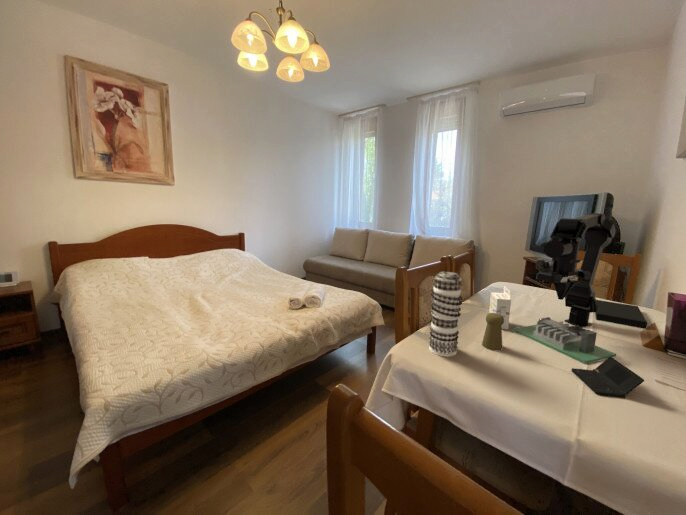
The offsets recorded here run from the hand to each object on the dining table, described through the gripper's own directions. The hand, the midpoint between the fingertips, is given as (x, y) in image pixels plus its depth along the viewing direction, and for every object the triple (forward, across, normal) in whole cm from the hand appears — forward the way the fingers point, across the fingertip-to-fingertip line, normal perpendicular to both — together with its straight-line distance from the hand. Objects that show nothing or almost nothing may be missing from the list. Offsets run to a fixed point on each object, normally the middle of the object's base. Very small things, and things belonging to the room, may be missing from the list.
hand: (560, 299), depth 101 cm
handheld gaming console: (+14, +18, +25) cm, 34 cm away
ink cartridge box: (+13, +13, -13) cm, 23 cm away
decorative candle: (+13, +46, -3) cm, 48 cm away
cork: (+13, +29, 0) cm, 32 cm away
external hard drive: (+14, -43, -5) cm, 45 cm away
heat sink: (+12, +5, +6) cm, 14 cm away
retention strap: (+8, +5, +5) cm, 10 cm away
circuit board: (+13, +5, +5) cm, 15 cm away
